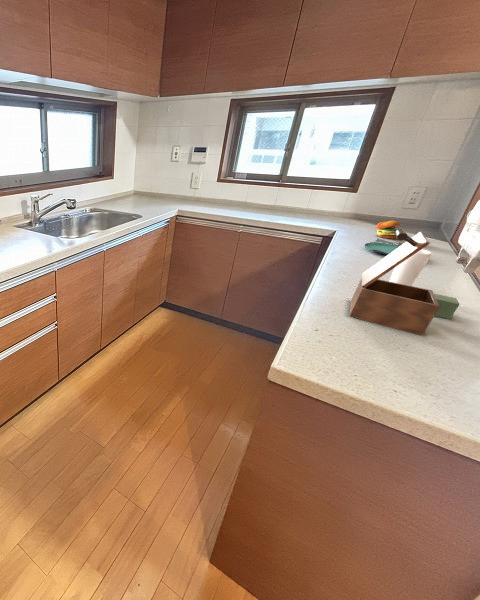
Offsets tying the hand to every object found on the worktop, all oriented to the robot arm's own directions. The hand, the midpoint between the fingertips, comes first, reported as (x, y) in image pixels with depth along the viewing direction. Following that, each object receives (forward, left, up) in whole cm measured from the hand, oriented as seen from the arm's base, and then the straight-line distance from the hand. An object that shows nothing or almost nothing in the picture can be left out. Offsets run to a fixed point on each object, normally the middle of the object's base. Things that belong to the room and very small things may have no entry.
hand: (463, 267), depth 91 cm
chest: (+13, +14, -15) cm, 24 cm away
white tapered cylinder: (+9, -11, -15) cm, 20 cm away
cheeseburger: (+8, -104, -15) cm, 105 cm away
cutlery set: (+7, -73, -15) cm, 75 cm away
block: (0, 0, -15) cm, 15 cm away
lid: (+16, +14, +2) cm, 21 cm away
